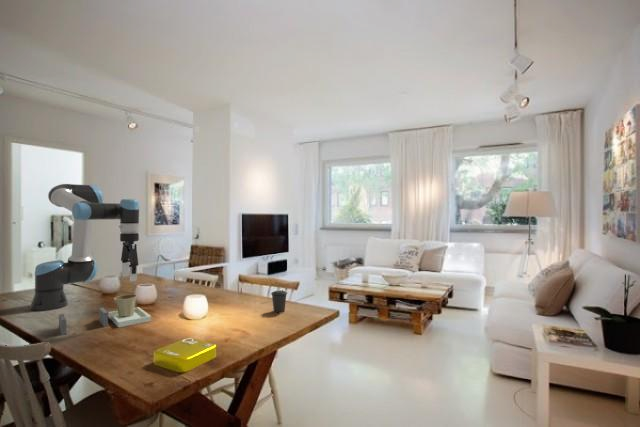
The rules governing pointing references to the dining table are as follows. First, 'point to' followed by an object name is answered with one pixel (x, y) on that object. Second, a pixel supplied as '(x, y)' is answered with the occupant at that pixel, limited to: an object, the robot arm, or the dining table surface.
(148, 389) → the dining table surface
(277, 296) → the coffee cup
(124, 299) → the flower pot
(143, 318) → the tray
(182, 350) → the element tile
